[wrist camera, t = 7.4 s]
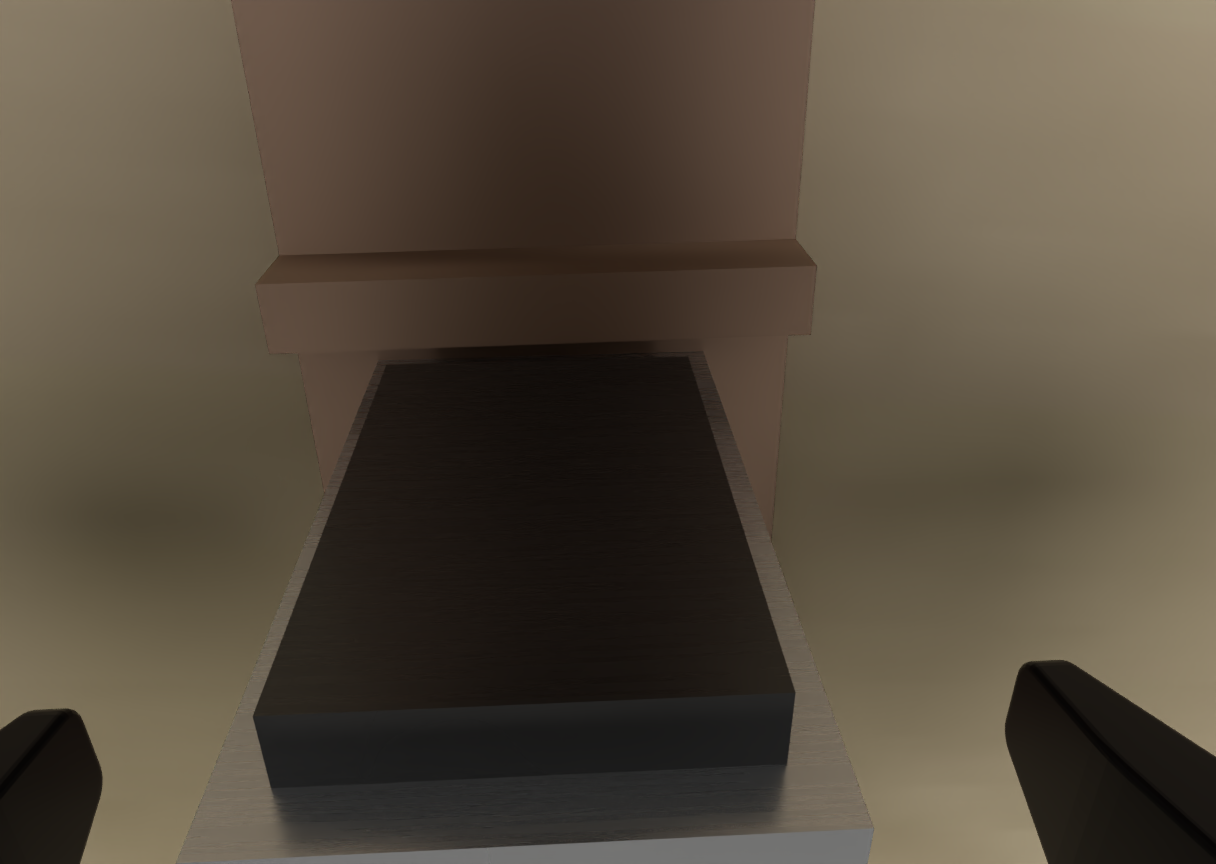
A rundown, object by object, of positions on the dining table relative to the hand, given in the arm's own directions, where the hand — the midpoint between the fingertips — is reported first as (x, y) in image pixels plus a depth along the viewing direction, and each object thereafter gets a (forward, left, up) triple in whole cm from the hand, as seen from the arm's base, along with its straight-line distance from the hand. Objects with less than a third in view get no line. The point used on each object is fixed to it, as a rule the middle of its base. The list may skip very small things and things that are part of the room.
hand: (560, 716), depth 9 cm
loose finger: (0, 0, -4) cm, 4 cm away
